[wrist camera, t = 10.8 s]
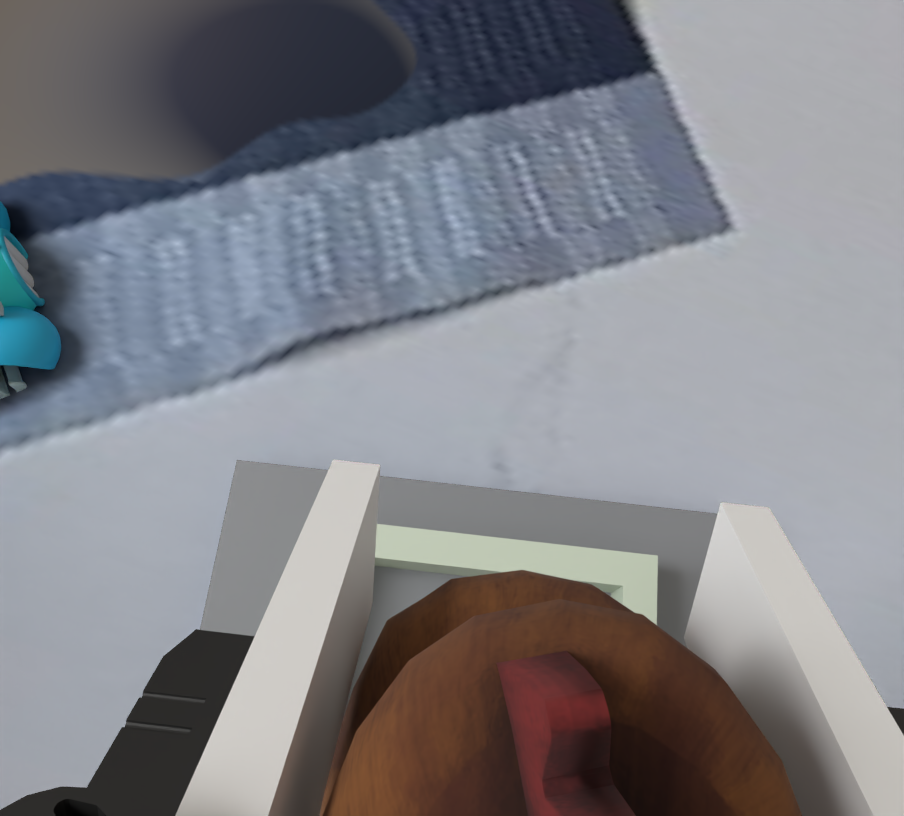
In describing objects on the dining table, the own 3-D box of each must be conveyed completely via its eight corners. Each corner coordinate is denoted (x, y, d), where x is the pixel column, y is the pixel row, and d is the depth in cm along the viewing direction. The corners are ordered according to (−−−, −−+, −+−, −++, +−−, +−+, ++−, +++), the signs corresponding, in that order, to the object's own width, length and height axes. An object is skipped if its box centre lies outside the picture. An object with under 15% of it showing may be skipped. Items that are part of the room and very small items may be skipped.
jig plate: (135, 989, 25) (90, 1033, 22) (245, 470, 32) (223, 444, 28) (737, 1065, 25) (783, 1122, 22) (728, 524, 31) (762, 504, 28)
